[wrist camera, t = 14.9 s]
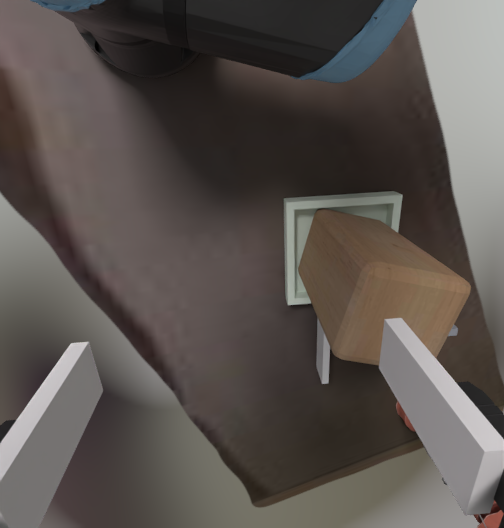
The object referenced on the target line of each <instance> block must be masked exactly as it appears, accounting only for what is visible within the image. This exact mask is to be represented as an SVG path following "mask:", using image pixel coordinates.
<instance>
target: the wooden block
mask: <svg viewBox="0 0 504 528" xmlns="http://www.w3.org/2000/svg"><path fill="white" fill-rule="evenodd" d="M298 272H299V275H300V277H301V280H302V282H303V284H304V287H305V289H306V291H307V294H308V296H309V298H310V301H311V303H312V305H313V308H314V310H315V312H316V315H317V317H318V319H319V322H320V324H321V327H322V329H323V331H324V334H325V336H326V338H327V341H328V343H329V345H330V348H331V350H332V352H333V354H334V355H335V356H336V357H338V358H340V359H342V360H347V361H354V362H360V363H367V364H373V365H379V363H380V354H381V345H382V337H383V328H384V320H385V319H393V318H402V319H403V320H404V322H405V323H406V324H407V325H408V326H409V328H410V329H411V330H412V331H413V332H414V333H415V335H416V336H417V337H418V338H419V339H420V341H421V342H422V343H423V344H424V345H425V346H426V348H427V349H428V350H429V351H430V352H431V354H432V355H433V356H434V357H435V358H436V357H437V355H438V353H439V351H440V350H441V348H442V346H443V344H444V342H445V340H446V338H447V336H448V334H449V332H450V331H451V329H452V327H453V325H454V323H455V321H456V319H457V317H458V315H459V313H460V311H461V310H462V308H463V306H464V304H465V302H466V300H467V298H468V296H469V294H470V289H471V286H470V284H469V283H468V282H467V281H466V280H465V279H463V278H462V277H460V276H459V275H458V274H456V273H455V272H453V271H452V270H450V269H449V268H448V267H446V266H445V265H443V264H442V263H440V262H439V261H438V260H436V259H435V258H433V257H432V256H430V255H429V254H428V253H426V252H425V251H423V250H422V249H420V248H419V247H418V246H416V245H415V244H413V243H412V242H410V241H409V240H408V239H406V238H405V237H403V236H402V235H400V234H399V233H397V232H396V231H395V230H393V229H392V228H390V227H389V226H387V225H386V224H385V223H383V222H382V221H380V220H376V219H371V218H367V217H362V216H357V215H353V214H348V213H343V212H339V211H334V210H329V209H325V208H323V209H318V210H317V211H316V213H315V214H314V217H313V220H312V224H311V227H310V230H309V234H308V237H307V240H306V244H305V247H304V250H303V254H302V257H301V260H300V264H299V267H298Z"/></svg>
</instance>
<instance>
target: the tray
mask: <svg viewBox="0 0 504 528" xmlns="http://www.w3.org/2000/svg"><path fill="white" fill-rule="evenodd" d="M402 196H403V195H402V194H400V193H398V192H395V191H386V192H371V193H356V194H341V195H326V196H311V197H295V198H284V249H285V297H286V301H287V304H288V305H297V304H310V303H311V301H310V298H309V296H308V294H307V291H306V289H305V287H304V284H303V282H302V280H301V277H300V275H299V272H298V267H299V264H300V260H301V257H302V254H303V250H304V247H305V244H306V240H307V237H308V234H309V230H310V227H311V224H312V220H313V217H314V214H315V213H316V211H317V210H318V209H323V208H325V209H329V210H334V211H339V212H343V213H348V214H353V215H357V216H362V217H367V218H371V219H376V220H380V221H382V222H383V223H385V224H386V225H387V226H389V227H390V228H392V229H393V230H395V231H396V232H397V233H398V229H399V221H400V212H401V204H402Z"/></svg>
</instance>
